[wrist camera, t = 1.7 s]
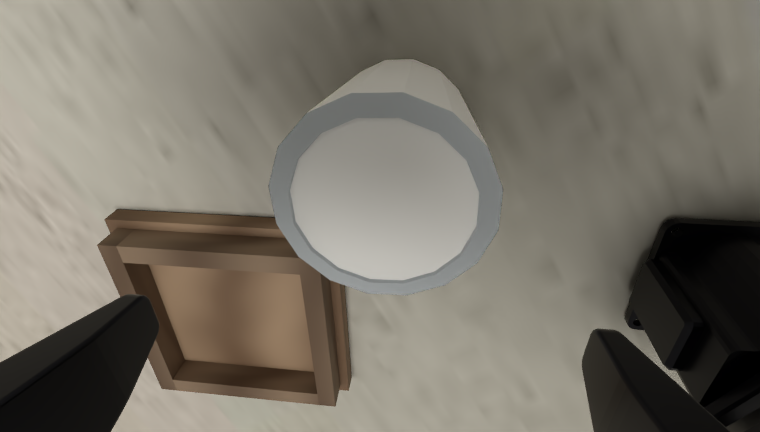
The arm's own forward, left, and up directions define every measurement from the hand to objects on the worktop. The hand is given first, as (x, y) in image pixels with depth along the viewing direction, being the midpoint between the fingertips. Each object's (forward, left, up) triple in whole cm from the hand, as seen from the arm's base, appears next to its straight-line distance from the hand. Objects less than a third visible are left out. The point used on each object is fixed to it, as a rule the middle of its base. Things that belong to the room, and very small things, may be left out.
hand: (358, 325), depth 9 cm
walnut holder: (+9, +11, -11) cm, 18 cm away
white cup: (0, 0, -12) cm, 12 cm away
